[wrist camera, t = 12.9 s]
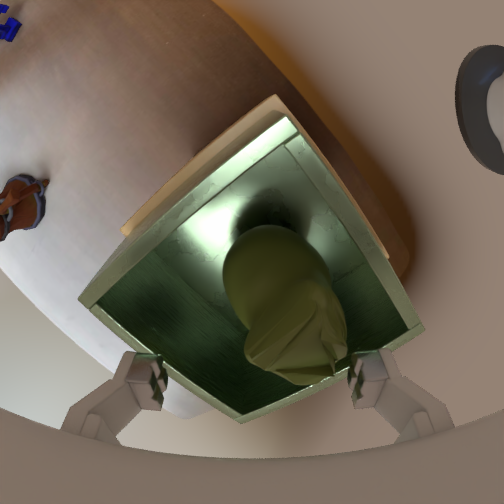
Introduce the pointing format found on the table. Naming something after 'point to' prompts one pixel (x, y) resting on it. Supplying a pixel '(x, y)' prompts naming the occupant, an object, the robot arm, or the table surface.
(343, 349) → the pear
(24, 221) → the mug
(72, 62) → the table surface
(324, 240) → the bin
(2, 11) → the figurine
